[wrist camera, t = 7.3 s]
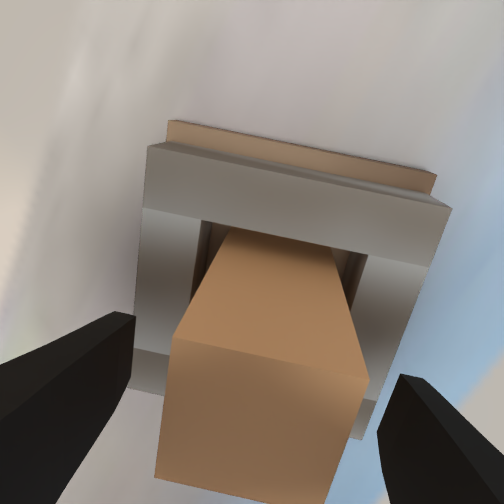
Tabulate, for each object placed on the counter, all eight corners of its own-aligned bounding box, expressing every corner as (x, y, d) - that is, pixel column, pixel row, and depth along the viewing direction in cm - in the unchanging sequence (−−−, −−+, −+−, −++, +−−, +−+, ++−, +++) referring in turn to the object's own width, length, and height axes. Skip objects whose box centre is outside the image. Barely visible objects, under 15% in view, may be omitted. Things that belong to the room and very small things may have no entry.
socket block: (349, 393, 18) (361, 454, 15) (151, 349, 19) (121, 400, 15) (427, 171, 14) (467, 187, 11) (176, 120, 15) (143, 121, 11)
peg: (306, 331, 16) (319, 515, 9) (216, 311, 16) (154, 477, 9) (330, 246, 15) (369, 379, 7) (231, 225, 15) (172, 336, 7)
